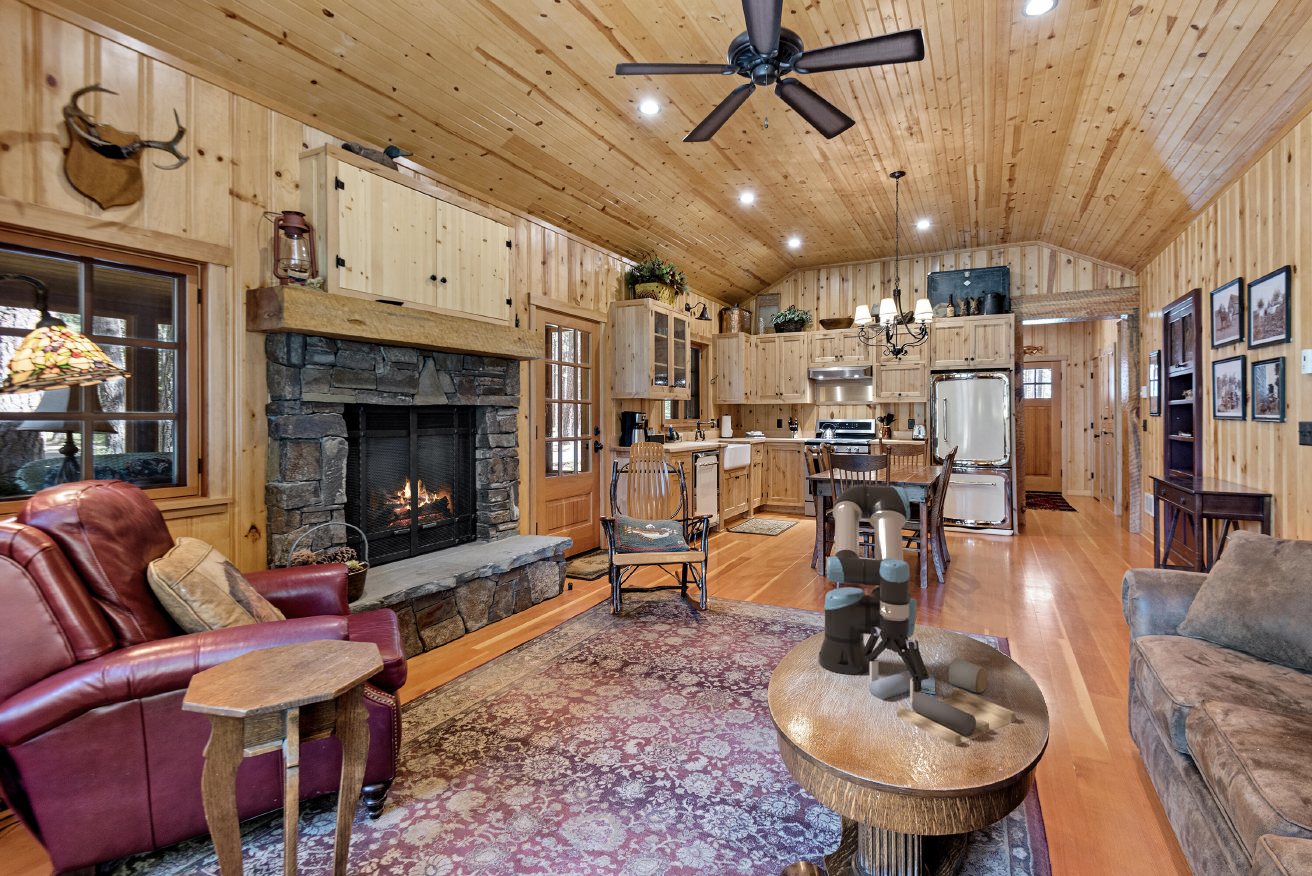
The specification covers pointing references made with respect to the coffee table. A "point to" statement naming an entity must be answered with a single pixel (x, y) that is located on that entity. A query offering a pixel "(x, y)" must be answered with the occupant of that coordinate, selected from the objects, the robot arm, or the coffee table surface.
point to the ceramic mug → (967, 675)
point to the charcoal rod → (944, 713)
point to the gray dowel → (891, 685)
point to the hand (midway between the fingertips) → (893, 693)
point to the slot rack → (981, 709)
